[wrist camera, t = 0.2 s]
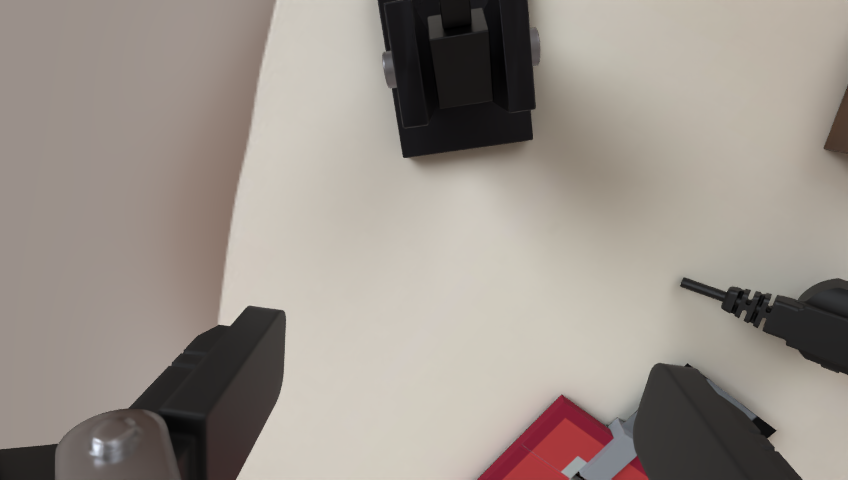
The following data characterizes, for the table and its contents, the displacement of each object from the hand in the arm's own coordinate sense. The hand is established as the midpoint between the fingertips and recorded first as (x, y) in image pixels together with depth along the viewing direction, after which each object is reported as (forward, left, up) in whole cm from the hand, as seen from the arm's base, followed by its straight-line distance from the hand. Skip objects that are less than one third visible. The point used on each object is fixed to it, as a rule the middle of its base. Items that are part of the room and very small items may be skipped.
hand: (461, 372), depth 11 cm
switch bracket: (-7, -1, -23) cm, 24 cm away
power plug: (+5, +22, -23) cm, 32 cm away
